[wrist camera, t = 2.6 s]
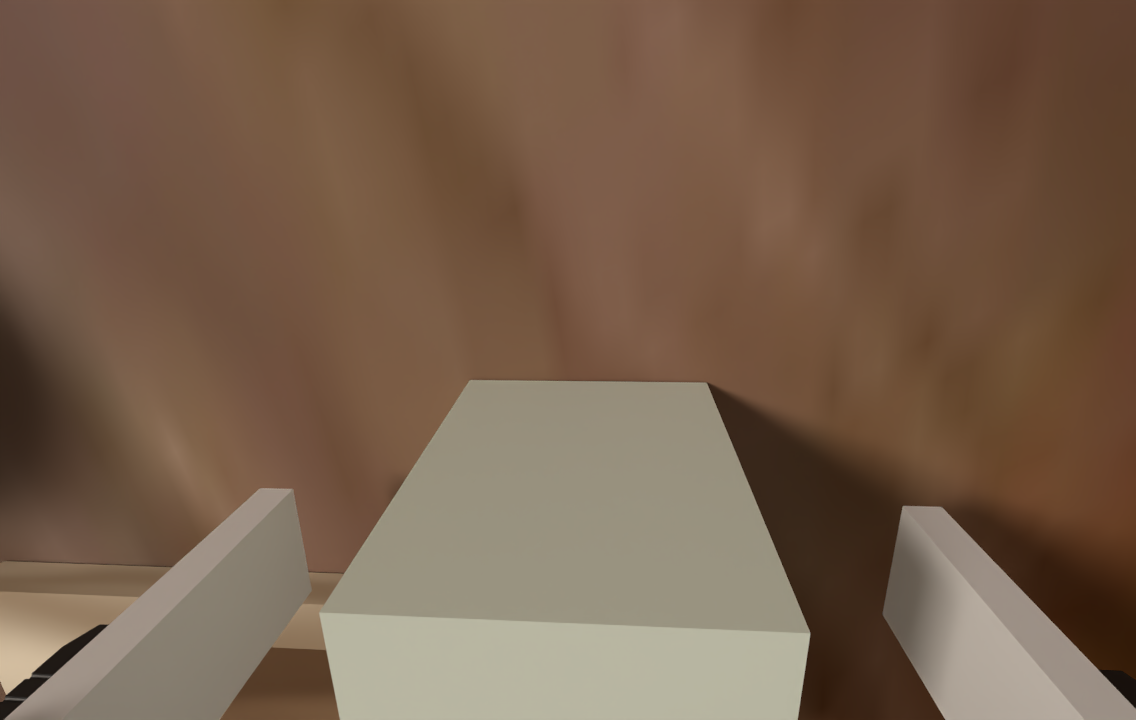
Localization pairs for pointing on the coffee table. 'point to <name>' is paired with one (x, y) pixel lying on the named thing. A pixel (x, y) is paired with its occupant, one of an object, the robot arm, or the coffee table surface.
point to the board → (102, 592)
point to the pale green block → (570, 569)
